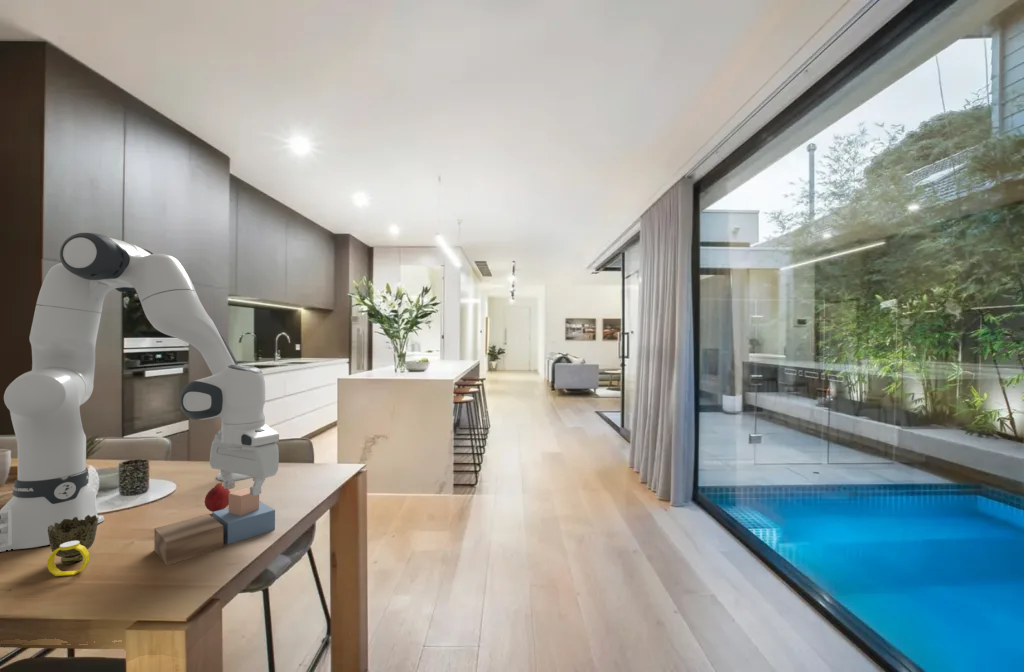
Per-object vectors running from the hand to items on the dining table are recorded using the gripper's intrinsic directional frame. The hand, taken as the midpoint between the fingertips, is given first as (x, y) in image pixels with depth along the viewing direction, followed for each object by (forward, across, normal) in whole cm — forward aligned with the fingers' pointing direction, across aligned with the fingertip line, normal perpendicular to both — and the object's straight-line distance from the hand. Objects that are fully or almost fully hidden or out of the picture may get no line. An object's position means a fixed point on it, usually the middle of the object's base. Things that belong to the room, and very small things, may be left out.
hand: (242, 491), depth 105 cm
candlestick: (+10, -43, +28) cm, 52 cm away
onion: (+10, -16, +4) cm, 19 cm away
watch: (+10, -12, -27) cm, 31 cm away
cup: (+10, -18, -24) cm, 31 cm away
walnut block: (+10, -2, -10) cm, 14 cm away
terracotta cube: (+5, 0, 0) cm, 5 cm away
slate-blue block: (+10, 0, 0) cm, 10 cm away
